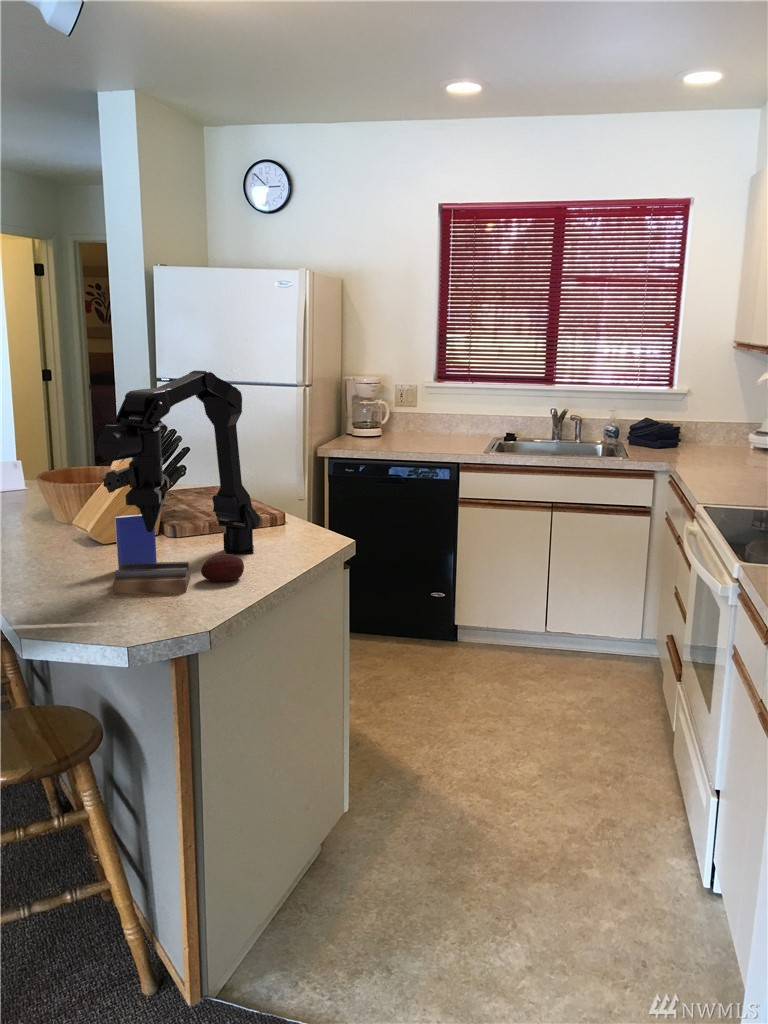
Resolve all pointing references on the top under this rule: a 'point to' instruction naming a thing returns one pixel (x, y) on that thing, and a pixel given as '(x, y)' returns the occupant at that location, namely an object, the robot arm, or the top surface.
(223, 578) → the potato
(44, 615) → the top surface
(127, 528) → the hard drive
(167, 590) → the drive stand
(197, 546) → the top surface
